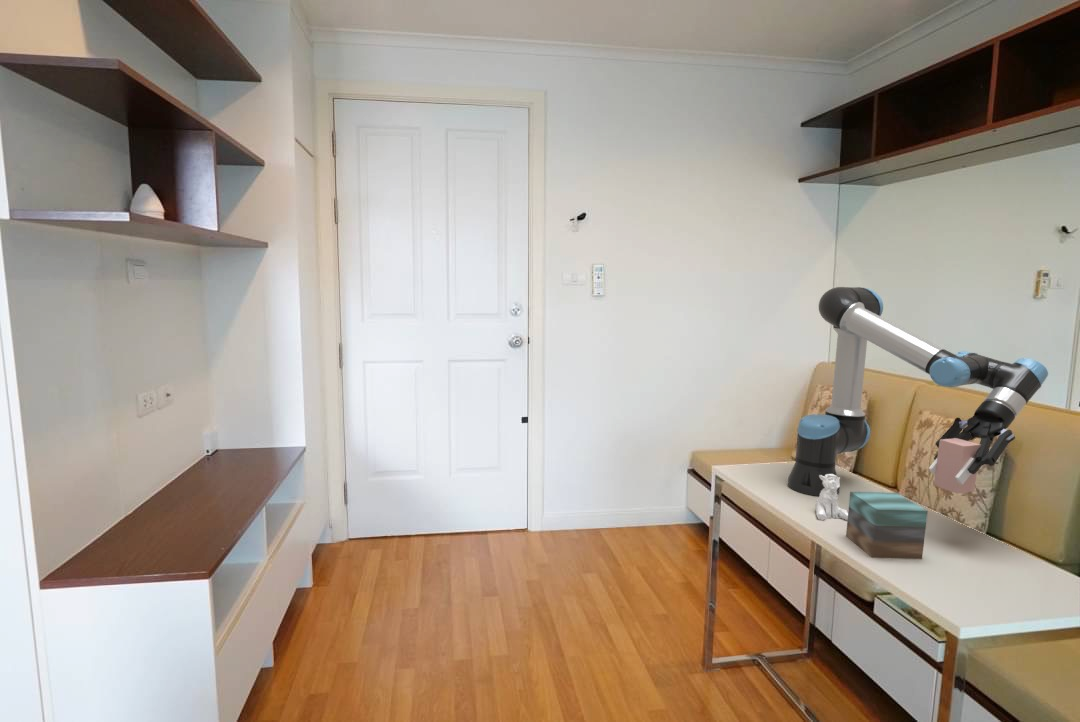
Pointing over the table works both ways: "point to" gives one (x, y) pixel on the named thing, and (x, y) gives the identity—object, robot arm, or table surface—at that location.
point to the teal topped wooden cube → (886, 525)
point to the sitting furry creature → (829, 499)
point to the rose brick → (954, 464)
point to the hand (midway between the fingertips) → (945, 476)
